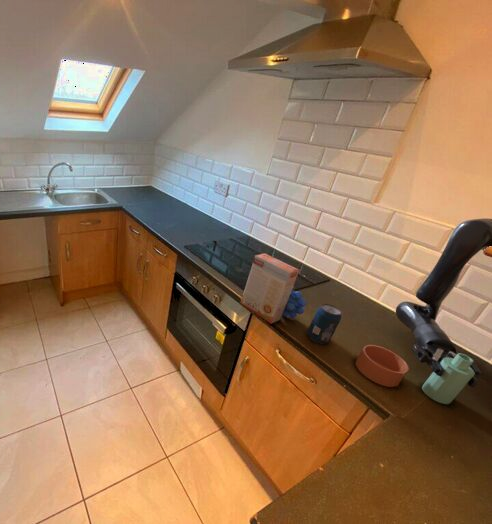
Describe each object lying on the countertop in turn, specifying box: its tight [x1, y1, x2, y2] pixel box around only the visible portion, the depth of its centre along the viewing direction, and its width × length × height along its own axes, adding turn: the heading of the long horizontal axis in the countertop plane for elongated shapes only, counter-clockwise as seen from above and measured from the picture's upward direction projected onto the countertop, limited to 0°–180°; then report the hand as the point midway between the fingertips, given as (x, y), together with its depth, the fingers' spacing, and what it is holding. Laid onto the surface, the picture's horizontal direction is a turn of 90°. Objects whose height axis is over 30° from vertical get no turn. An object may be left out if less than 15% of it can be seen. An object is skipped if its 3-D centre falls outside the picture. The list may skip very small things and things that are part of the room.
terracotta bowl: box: [355, 344, 410, 388], centre depth 88 cm, size 11×11×6 cm
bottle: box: [421, 353, 475, 405], centre depth 81 cm, size 6×6×14 cm
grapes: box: [281, 288, 307, 319], centre depth 107 cm, size 12×7×12 cm, turn 77°
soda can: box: [307, 303, 342, 345], centre depth 98 cm, size 7×7×12 cm
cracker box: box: [240, 253, 300, 325], centre depth 107 cm, size 14×6×21 cm, turn 33°
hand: (457, 378), depth 78 cm, fingers closed on bottle, 6 cm apart
